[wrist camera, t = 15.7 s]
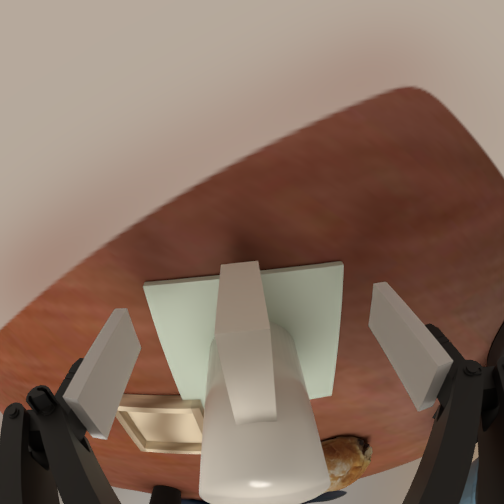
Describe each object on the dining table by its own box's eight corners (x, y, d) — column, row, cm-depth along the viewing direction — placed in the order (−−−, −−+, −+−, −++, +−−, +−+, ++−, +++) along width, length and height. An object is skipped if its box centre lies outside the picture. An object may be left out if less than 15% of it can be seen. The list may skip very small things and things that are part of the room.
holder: (200, 394, 24) (199, 408, 23) (218, 442, 28) (218, 453, 26) (112, 393, 24) (108, 405, 23) (143, 440, 28) (141, 450, 26)
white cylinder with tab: (295, 376, 23) (323, 501, 12) (217, 385, 23) (213, 511, 12) (292, 237, 18) (363, 376, 7) (186, 249, 18) (131, 397, 7)
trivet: (341, 261, 20) (343, 264, 19) (330, 390, 25) (331, 395, 25) (145, 282, 20) (142, 286, 19) (187, 405, 25) (187, 410, 24)
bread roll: (309, 415, 32) (290, 465, 25) (384, 429, 29) (376, 480, 22) (299, 450, 36) (281, 491, 29) (362, 462, 32) (351, 505, 26)
